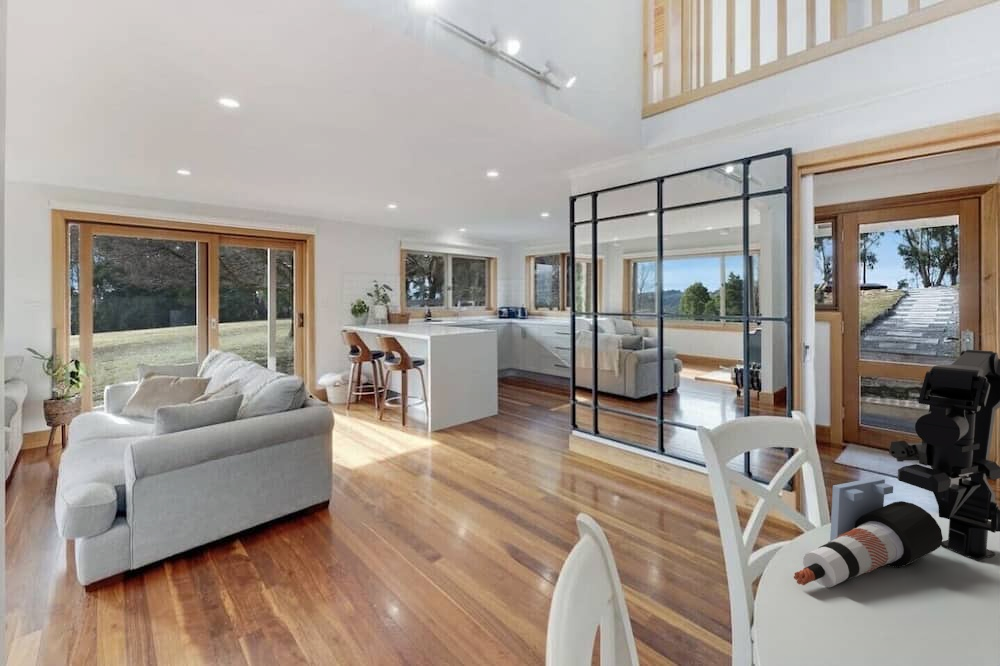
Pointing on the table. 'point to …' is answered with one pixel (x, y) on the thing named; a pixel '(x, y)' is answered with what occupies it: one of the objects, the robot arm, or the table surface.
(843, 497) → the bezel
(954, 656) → the table surface
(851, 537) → the cable
